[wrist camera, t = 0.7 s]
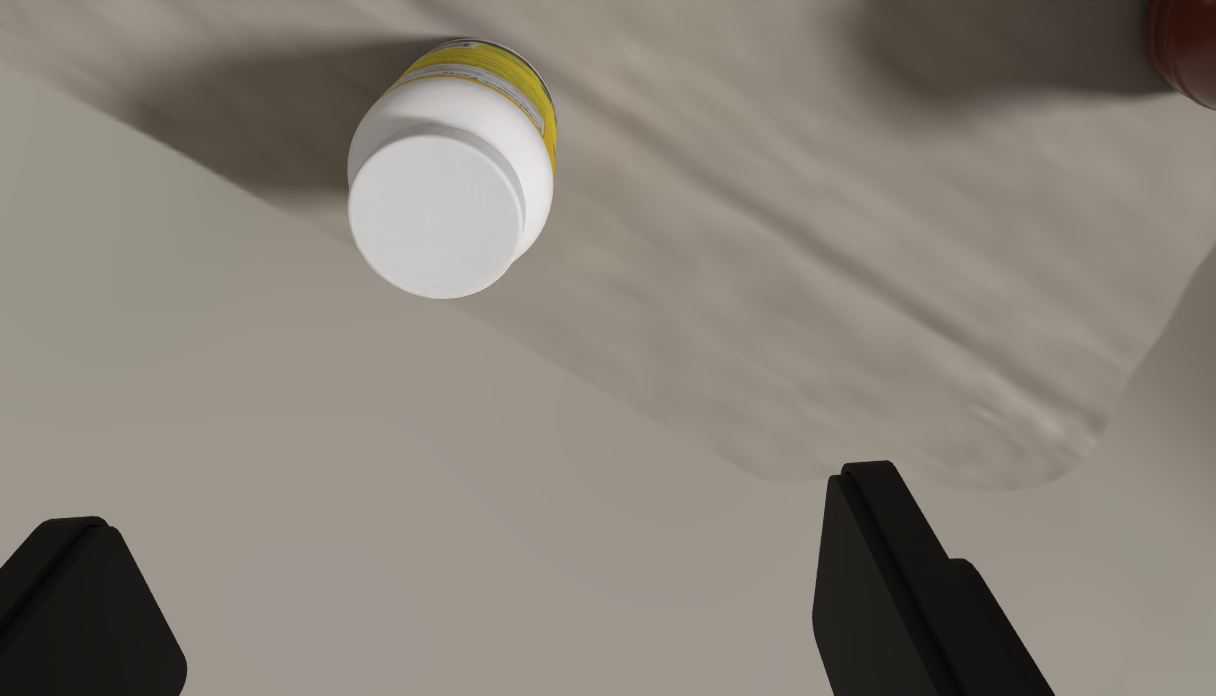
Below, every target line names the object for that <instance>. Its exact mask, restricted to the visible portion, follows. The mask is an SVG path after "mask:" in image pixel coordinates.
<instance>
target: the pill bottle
mask: <svg viewBox="0 0 1216 696" xmlns="http://www.w3.org/2000/svg"><path fill="white" fill-rule="evenodd" d="M556 137H557V122H556V113H555V108H554V104H553V100H552V97H551V94H550V92H549V90H548V88H547V86H546V84H545V82H544V81H543V79H542V78H541V76H540V75H539V73H538V72H537V71H536V70H535V68H534V67H533V66H532V65H531V64H530V63H529V62H528V61H527V60H526V59H525V58H523V57H522V56H521V55H519V54H518V53H517V52H515V51H513V50H512V49H510V48H508V47H506V46H504V45H501V44H499V43H496V42H493V41H489V40H485V39H476V38H465V39H458V40H453V41H449V42H446V43H443V44H441V45H438V46H437V47H435V48H433V49H431V50H429V51H428V52H426V53H425V54H424V55H422V56H421V57H420V58H419V59H417V60H416V61H415V62H414V63H413V64H412V65H411V66H410V67H409V68H408V69H407V71H405V73H404V74H403V75H402V76H401V77H400V78H399V79H398V80H397V81H396V82H395V83H394V84H393V85H392V86H391V87H390V88H389V89H388V90H387V91H386V92H385V93H384V94H383V95H382V96H381V97H380V98H379V99H378V100H377V101H376V102H375V103H374V104H373V106H372V107H371V108H370V109H369V111H368V112H367V113H366V115H365V116H364V117H363V119H362V121H361V122H360V124H359V125H358V127H357V129H356V131H355V134H354V136H353V139H352V142H351V145H350V150H349V156H348V184H349V195H348V204H347V212H348V222H349V227H350V231H351V234H352V237H353V240H354V242H355V244H356V246H357V248H358V250H359V252H360V253H361V255H362V256H363V258H364V259H365V260H366V262H367V263H368V264H369V265H370V266H371V267H372V268H373V269H374V270H375V271H376V272H377V273H378V274H379V275H380V276H381V277H382V278H384V279H385V280H386V281H388V282H390V283H391V284H393V285H394V286H396V287H398V288H400V289H402V290H404V291H407V292H409V293H412V294H415V295H419V296H422V297H428V298H435V299H450V298H458V297H463V296H467V295H471V294H473V293H476V292H478V291H481V290H482V289H484V288H486V287H488V286H489V285H491V284H492V283H494V282H495V281H496V280H498V279H499V278H500V277H501V276H502V275H503V274H504V273H505V271H506V270H507V269H508V268H509V266H510V265H511V263H512V262H513V261H515V260H516V259H517V258H519V257H520V256H521V255H522V254H523V253H524V252H525V251H526V250H527V249H528V248H529V247H530V246H531V245H532V244H533V243H534V241H535V240H536V238H537V237H538V235H539V234H540V232H541V230H542V228H543V227H544V225H545V222H546V220H547V217H548V214H549V211H550V207H551V203H552V196H553V187H554V172H555V154H556Z"/></svg>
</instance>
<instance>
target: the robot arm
mask: <svg viewBox="0 0 1216 696" xmlns="http://www.w3.org/2000/svg"><path fill="white" fill-rule="evenodd" d="M812 621H813V630H814V636H815V640H816V643H817V646H818V649H819V652H820V655H821V658H822V661H823V664H824V667H825V670H826V673H827V676H828V679H829V682H830V685H831V688H832V691H833V694H834V696H1055V694H1054V693H1053V691H1052V689H1051V688H1050V686H1049V685H1048V683H1047V681H1046V680H1045V678H1044V677H1043V675H1042V673H1041V672H1040V670H1039V668H1038V667H1037V665H1036V664H1035V662H1034V660H1033V659H1032V657H1031V656H1030V654H1029V652H1028V651H1027V649H1026V648H1025V646H1024V644H1023V643H1022V641H1021V639H1020V638H1019V637H1018V635H1017V633H1016V631H1015V630H1014V628H1013V627H1012V625H1011V623H1010V622H1009V620H1008V619H1007V617H1006V615H1005V614H1004V612H1003V610H1002V609H1001V607H1000V606H999V604H998V603H997V601H996V599H995V598H994V596H993V594H992V593H991V591H990V589H989V588H988V586H987V585H986V583H985V581H984V580H983V578H982V577H981V575H980V574H979V572H978V571H977V570H976V569H975V567H974V566H973V565H972V564H971V563H970V562H968V561H967V560H966V559H962V558H961V559H960V558H955V559H949V558H948V556H947V554H946V552H945V551H944V549H943V547H942V546H941V544H940V542H939V540H938V539H937V537H936V535H935V534H934V532H933V530H932V529H931V527H930V525H929V524H928V522H927V520H926V518H925V517H924V515H923V513H922V512H921V510H920V508H919V507H918V505H917V503H916V501H915V500H914V498H913V496H912V495H911V493H910V491H909V490H908V488H907V486H906V484H905V483H904V481H903V479H902V477H901V476H900V474H899V472H898V471H897V469H896V467H895V466H894V465H893V463H892V462H890V461H888V460H884V461H870V462H856V463H846V464H844V466H843V467H842V471H841V475H832V476H830V477H829V480H828V485H827V493H826V502H825V510H824V519H823V527H822V536H821V545H820V552H819V562H818V570H817V578H816V587H815V595H814V603H813V611H812ZM186 676H187V662H186V659H185V656H184V654H183V653H182V650H181V649H180V647H179V645H178V643H177V641H176V639H175V637H174V635H173V633H172V631H171V629H170V627H169V626H168V624H167V622H166V620H165V618H164V616H163V614H162V612H161V610H160V608H159V606H158V605H157V603H156V601H155V599H154V597H153V595H152V593H151V591H150V589H149V587H148V585H147V584H146V581H145V579H144V577H143V576H142V574H141V572H140V570H139V568H138V566H137V564H136V562H135V561H134V558H133V557H132V554H131V553H130V551H129V549H128V547H127V545H126V543H125V542H124V539H123V537H122V535H121V533H120V532H119V531H118V530H117V529H116V528H114V527H111V526H109V525H108V524H107V523H106V521H105V520H104V519H102V518H100V517H97V516H89V517H73V518H59V519H50V520H47V521H44V522H42V523H41V524H40V525H39V526H38V527H37V528H36V529H35V530H34V531H33V532H32V533H31V534H30V535H29V537H28V538H27V539H26V540H25V541H24V542H23V543H22V545H21V546H20V547H19V548H18V549H17V550H16V551H15V552H14V554H13V555H12V556H11V557H10V558H9V559H8V560H7V561H6V563H5V564H4V565H3V566H2V567H1V568H0V696H179V695H180V693H181V691H182V689H183V687H184V684H185V681H186Z"/></svg>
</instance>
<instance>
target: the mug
mask: <svg viewBox="0 0 1216 696" xmlns="http://www.w3.org/2000/svg"><path fill="white" fill-rule="evenodd" d="M1144 43H1145V49H1146V53H1147V56H1148V59H1149V61H1150V63H1151V65H1152V67H1153V69H1154V70H1155V72H1156V73H1157V74H1158V75H1159V76H1160V77H1161V78H1162V79H1163V80H1164V81H1165V82H1166V83H1168V84H1169V85H1171V86H1172V87H1173V88H1174V89H1175V90H1176V91H1178V92H1179V93H1181V94H1182V95H1184V96H1186V97H1188V98H1190V99H1191V100H1193V101H1194V102H1195V103H1197V104H1199V105H1201V106H1203V107H1206V108H1209V109H1211V110H1216V0H1148V1H1147V5H1146V11H1145V18H1144Z"/></svg>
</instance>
